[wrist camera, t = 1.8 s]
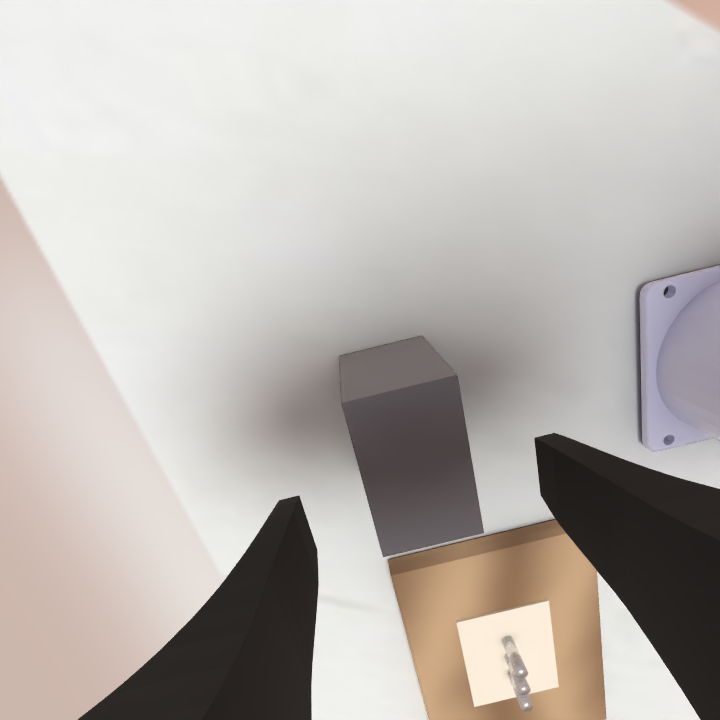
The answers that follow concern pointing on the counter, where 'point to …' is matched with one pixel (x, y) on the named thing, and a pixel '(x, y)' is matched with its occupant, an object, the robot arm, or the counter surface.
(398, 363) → the block
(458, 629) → the board
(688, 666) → the robot arm
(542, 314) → the counter surface
